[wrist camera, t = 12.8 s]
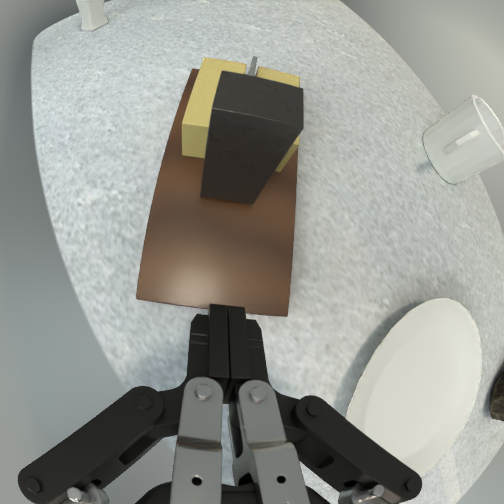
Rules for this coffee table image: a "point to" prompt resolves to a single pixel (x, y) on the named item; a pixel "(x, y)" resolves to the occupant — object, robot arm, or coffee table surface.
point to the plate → (421, 384)
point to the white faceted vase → (92, 14)
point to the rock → (498, 400)
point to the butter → (202, 101)
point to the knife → (248, 134)
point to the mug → (465, 141)
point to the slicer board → (217, 237)
